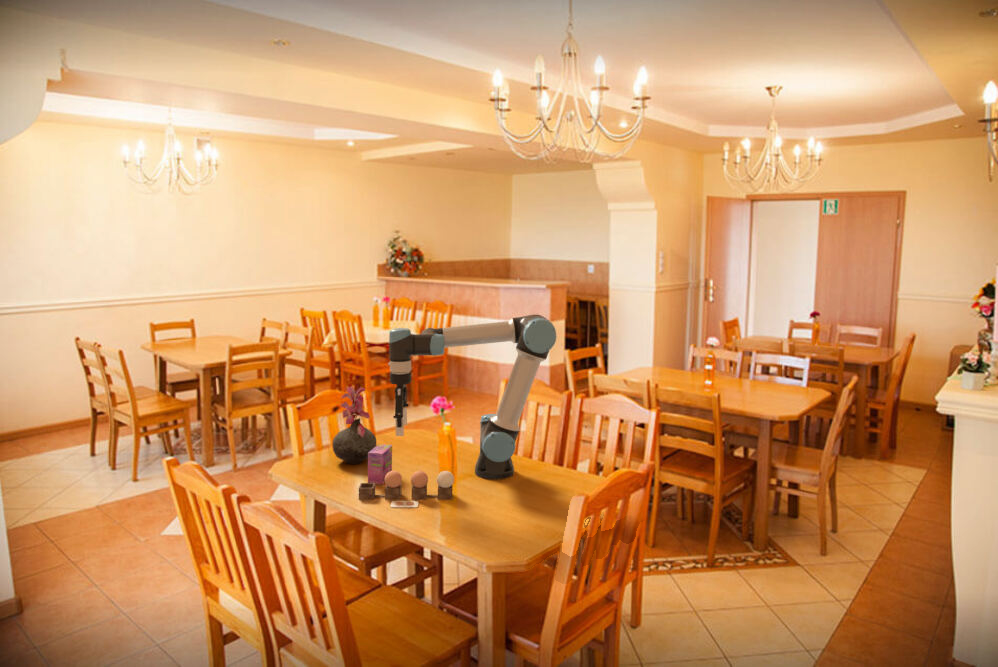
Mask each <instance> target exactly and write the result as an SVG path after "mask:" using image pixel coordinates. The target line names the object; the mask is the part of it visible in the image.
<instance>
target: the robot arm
mask: <svg viewBox="0 0 998 667" xmlns="http://www.w3.org/2000/svg"><path fill="white" fill-rule="evenodd" d="M411 331H412V330H411V329H410V328H406V327H405V328H403V327H396V328H392V329H390V331H389V332H388V333H389V336H388V340H389V341H388V350H389V362H388V363H387V366H389V371H390V373H389V383H390V384H391V385H396V387H395V388H394V396H395V397H394V399H395V400H394V401H395V402H394V403H395V405H394V406H395V407H394V415H393V416H392V418H393V419H395V437H404V433H405V428H404V427H405V426H407V425H408V415H407V414H408V412H407V411H408V407H409V403H408V400H407V398H408V397H407V392H408V391H407V390H408V387H407V385H408V384H410V383H412V372H411V371H412V356H413V357H414V356H433V357H436V356H443V355H444V354H445V349H447V348H453V347H454V348H455V347H467V346H473V345H474V346H475V345H485V344H486V345H487V344H494V343H504V342H505V343H506V342H512V344H516V346H515V350H516V352H517V355H516V359H515V361H514V364H513V366H512V369H511V372H510V374H509V377H508V380H507V383H506V386H505V388H504V392H503V394H502V397H501V399H500V402H499V405H498V408H497V410H496V412H495V413H488V414H487V413H486V414H484V415H481V417H480V421H479V424H480V425H479V426H480V430H479V432H480V435H479V436H480V437H479V455H478V457H477V460H476V463H475V466H474V473H475V475H476V476H477V477H479V478H482V479H486V480H504V479H505V480H506V479H508V478H511V477H512V476H514V474H515V467H514V464H513V460H512V457H513V455H514V453H515V451H516V447H517V446H516V441H517V438H518V435H519V434H520V430H521V428H520V425H519V421H520V418H521V416H522V413H523V410H524V407H525V405H526V402H527V401H528V400H527V399H528V397H529V395H530V392H531V389H532V386H533V383H534V380H535V378H536V376H537V373H538V370H539V368H540V364H541V363H542V362H544V361H546V360H547V358H548V355H549V353H550V350H551V349H552V348H553V347H554V345H555V344H556V341H557V330H556V328H555V325H554V324H553V323H552V322H551V321H550V320H549V319H547V318H546V317H545V316H543V315H540V314H528V315H524V316H519V317H518V316H517V317H511V318H510V320H508V321H506V320H505V321H497V322H489V323H486V322H485V323H479V324H468V325H458V326H449V327H447V326H446V327H439V328H434V327H433V328H432V327H428V328H426V329H424V330H422V331H421V333H419V334H413V333H412V332H411Z"/></svg>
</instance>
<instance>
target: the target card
mask: <svg viewBox="0 0 998 667" xmlns="http://www.w3.org/2000/svg"><path fill="white" fill-rule="evenodd" d="M418 506H419V500H392V501H391V503H390V509H395V508H396V509H397V508H400V509H404V508H405V509H416V508H418Z"/></svg>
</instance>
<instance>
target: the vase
mask: <svg viewBox="0 0 998 667" xmlns="http://www.w3.org/2000/svg"><path fill="white" fill-rule="evenodd" d="M345 389H346V392H347V393H344V394H343V395H342V396H341V398H340V399H341V400H343V398H348V399H349V400H350V401H351V405H349V403H348V402H346V401H343V403H341V404H340V407H341V408H344V409H343V410H342V418H343V419H345V418H346V420H345V425H350V426H349V427H346V428H344V429H342V430H340V431H339V432H337V434H336V435H335V436H334V438H332V439H333V440H332V449H333V450H332V452H333V453H334V455H335V456H336V458H338V459H339V460H342V461H343V462H346V464H349V465H357V464H358V465H359V464H362V463H363V462H364V461H365V460H368V452H369V451H371V450H372V449H373V448H374V447H376V446H377V437H376V435H375V433H374V432H372V431H371V430H370V429H368V428H367V427H365V426H364V425H363V424H362V423H361V418H360V417H362V418H365V419H370V414H369V412H368V411H365V410H364V407H363V403H364V398H363V396H361V393H362V392H365V391H366V389H365V388H364V387H362V386H361V387H359V388H358V389H357V390H354V387H353V386H348V387H345ZM358 416H359V418H357V417H358Z"/></svg>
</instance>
